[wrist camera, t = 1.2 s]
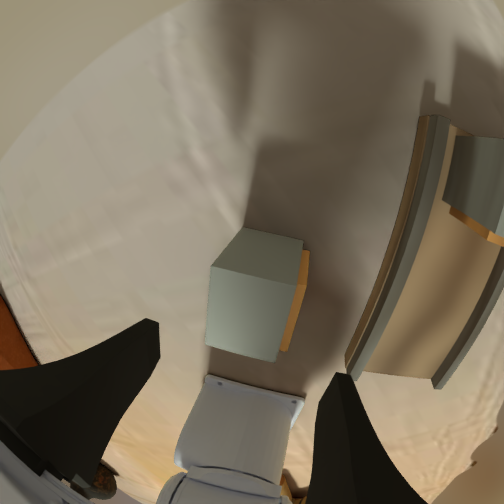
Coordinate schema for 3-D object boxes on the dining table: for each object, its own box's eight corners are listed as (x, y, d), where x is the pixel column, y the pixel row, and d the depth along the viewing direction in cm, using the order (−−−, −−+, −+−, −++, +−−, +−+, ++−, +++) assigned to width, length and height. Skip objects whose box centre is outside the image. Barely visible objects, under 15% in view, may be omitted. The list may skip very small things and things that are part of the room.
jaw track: (344, 355, 21) (346, 433, 14) (419, 116, 13) (483, 107, 6) (434, 367, 19) (454, 434, 13) (518, 165, 12) (588, 188, 5)
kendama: (250, 465, 35) (278, 507, 38) (246, 496, 28) (277, 531, 31) (299, 459, 33) (317, 502, 36) (300, 490, 27) (318, 526, 30)
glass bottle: (90, 464, 63) (57, 516, 38) (66, 440, 57) (26, 497, 31) (131, 485, 60) (99, 543, 35) (109, 464, 53) (69, 531, 28)
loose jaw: (242, 226, 18) (211, 265, 13) (311, 242, 18) (307, 288, 12) (233, 291, 20) (204, 344, 15) (294, 306, 20) (283, 365, 14)
